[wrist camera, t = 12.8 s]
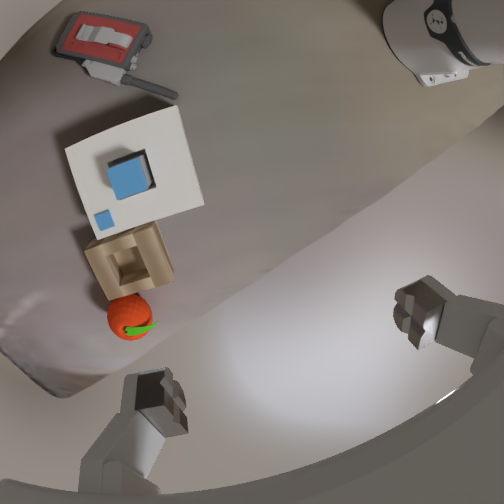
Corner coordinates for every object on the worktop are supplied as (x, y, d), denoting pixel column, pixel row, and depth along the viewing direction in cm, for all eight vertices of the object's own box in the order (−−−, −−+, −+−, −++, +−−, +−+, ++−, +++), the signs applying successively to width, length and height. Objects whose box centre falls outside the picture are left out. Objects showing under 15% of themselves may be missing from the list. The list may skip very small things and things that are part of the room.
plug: (146, 152, 32) (137, 158, 26) (154, 177, 34) (147, 189, 28) (121, 161, 32) (106, 169, 26) (129, 186, 34) (117, 200, 28)
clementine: (157, 282, 41) (153, 310, 35) (164, 319, 44) (162, 349, 38) (107, 286, 40) (96, 313, 33) (117, 322, 43) (110, 351, 36)
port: (178, 108, 32) (176, 104, 27) (202, 194, 37) (204, 205, 33) (79, 145, 31) (63, 149, 26) (107, 226, 36) (96, 241, 31)
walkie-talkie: (49, 68, 25) (174, 105, 32) (35, 64, 21) (172, 102, 28) (77, 14, 22) (205, 47, 29) (66, 4, 18) (207, 38, 25)
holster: (155, 217, 37) (151, 227, 34) (173, 267, 41) (173, 281, 37) (92, 239, 36) (83, 251, 33) (114, 286, 40) (108, 300, 36)
